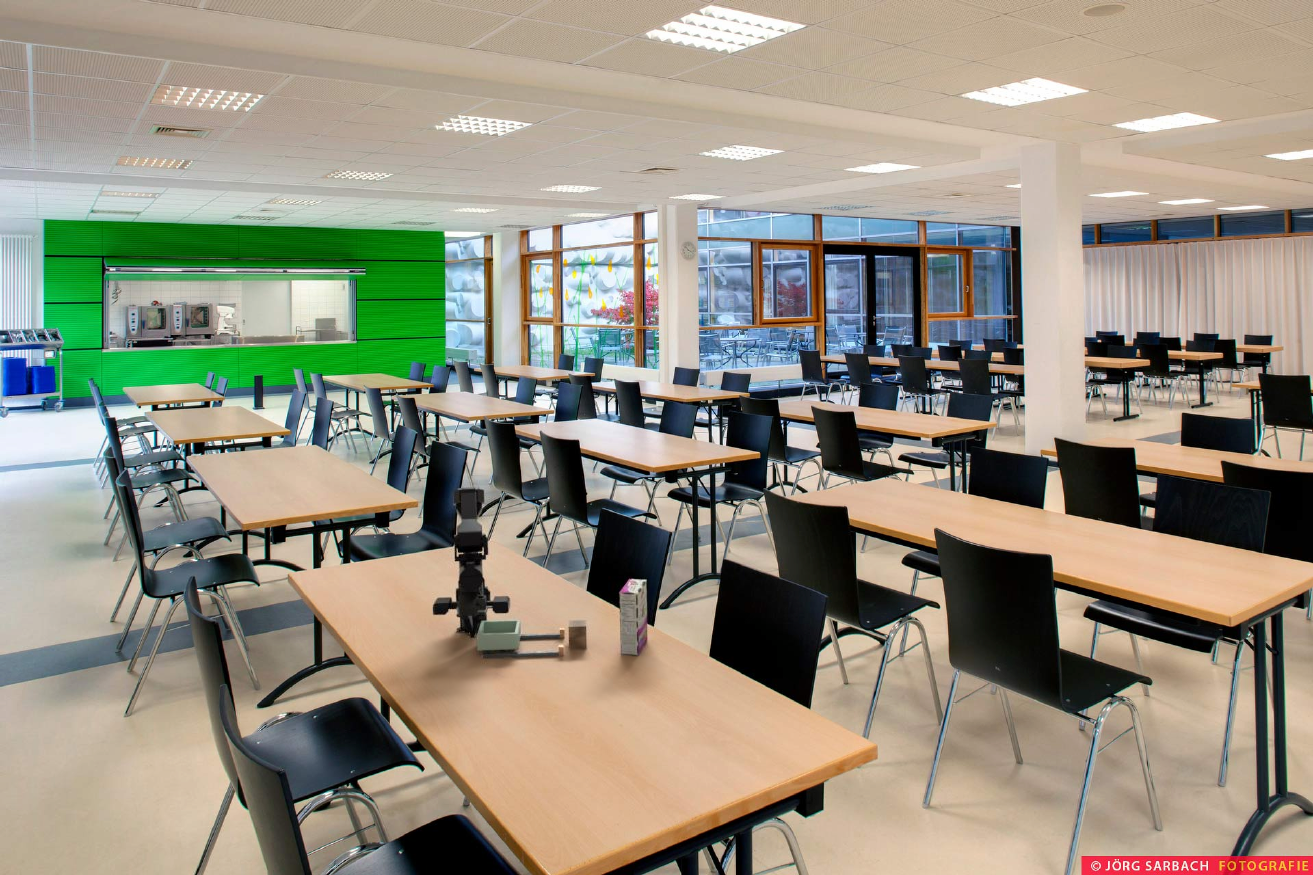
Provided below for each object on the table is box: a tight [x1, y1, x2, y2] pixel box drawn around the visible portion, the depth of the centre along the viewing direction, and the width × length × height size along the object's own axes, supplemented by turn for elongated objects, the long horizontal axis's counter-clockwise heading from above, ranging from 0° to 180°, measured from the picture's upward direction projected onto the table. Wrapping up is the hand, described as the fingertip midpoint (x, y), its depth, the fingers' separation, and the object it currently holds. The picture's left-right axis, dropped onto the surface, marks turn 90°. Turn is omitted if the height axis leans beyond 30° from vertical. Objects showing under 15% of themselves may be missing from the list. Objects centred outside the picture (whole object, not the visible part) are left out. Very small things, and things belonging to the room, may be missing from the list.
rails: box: [481, 627, 566, 660], centre depth 228 cm, size 20×13×2 cm, turn 95°
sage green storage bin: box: [476, 619, 522, 654], centre depth 227 cm, size 10×10×5 cm
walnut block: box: [568, 619, 588, 650], centre depth 229 cm, size 4×4×6 cm
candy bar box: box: [618, 578, 648, 656], centre depth 227 cm, size 11×5×16 cm, turn 168°
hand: (473, 637), depth 227 cm, fingers closed
